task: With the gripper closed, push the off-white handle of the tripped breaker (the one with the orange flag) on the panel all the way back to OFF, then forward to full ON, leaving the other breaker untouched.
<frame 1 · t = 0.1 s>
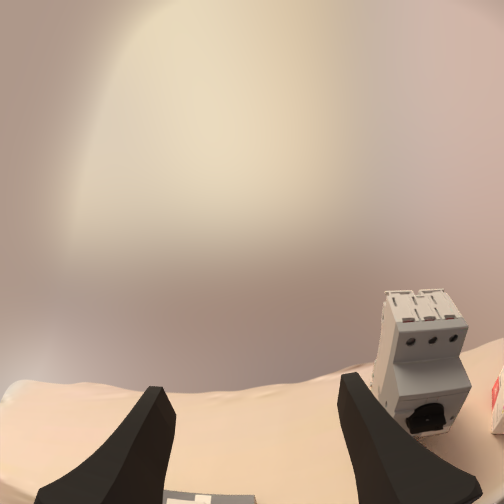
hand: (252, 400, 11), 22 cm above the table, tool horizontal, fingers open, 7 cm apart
circuit breaker: (401, 421, 29), on the table
ink cartridge box: (503, 412, 23), on the table
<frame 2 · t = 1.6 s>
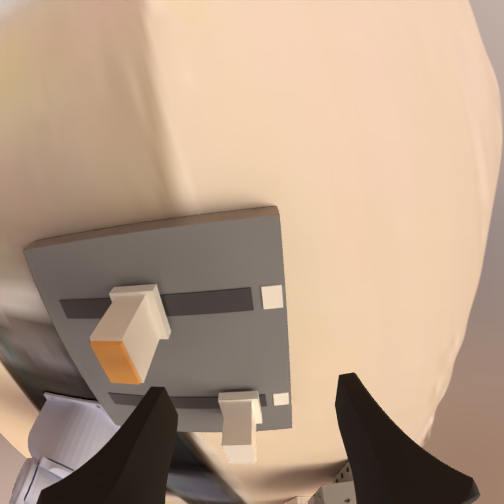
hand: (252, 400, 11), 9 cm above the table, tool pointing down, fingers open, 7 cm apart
tripped breaker: (129, 334, 15), point 5 cm above the table, slide at 0.0 cm
breaker panel: (169, 346, 22), on the table
circuit breaker: (347, 467, 33), on the table
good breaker: (240, 428, 19), point 5 cm above the table, slide at 5.0 cm
ink cartridge box: (308, 499, 39), on the table
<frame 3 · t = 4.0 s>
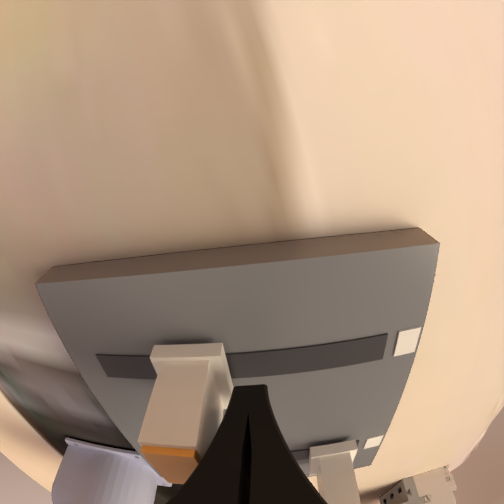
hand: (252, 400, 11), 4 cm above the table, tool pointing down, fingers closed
tripped breaker: (188, 417, 10), point 5 cm above the table, slide at -1.7 cm, touching gripper
breaker panel: (249, 399, 16), on the table
circuit breaker: (396, 486, 27), on the table
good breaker: (335, 483, 14), point 5 cm above the table, slide at 5.0 cm
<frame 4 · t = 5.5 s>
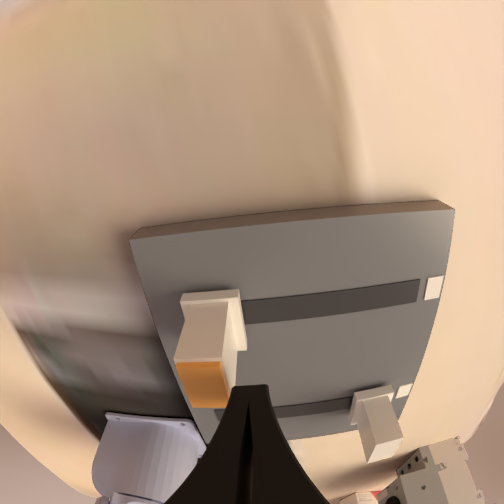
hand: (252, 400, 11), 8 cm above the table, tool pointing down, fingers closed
tripped breaker: (211, 349, 14), point 5 cm above the table, slide at -5.1 cm
breaker panel: (303, 349, 20), on the table
circuit breaker: (412, 457, 31), on the table
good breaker: (376, 425, 18), point 5 cm above the table, slide at 5.0 cm
ink cartridge box: (363, 494, 37), on the table
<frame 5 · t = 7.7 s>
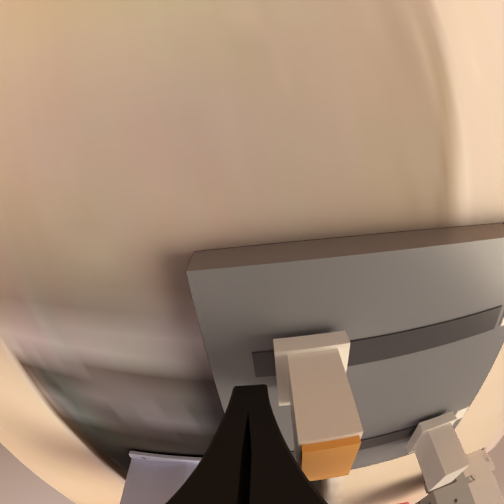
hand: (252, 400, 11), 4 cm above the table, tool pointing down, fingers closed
tripped breaker: (318, 410, 10), point 5 cm above the table, slide at -4.5 cm, touching gripper
breaker panel: (373, 383, 16), on the table
circuit breaker: (440, 470, 27), on the table
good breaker: (438, 453, 14), point 5 cm above the table, slide at 5.0 cm
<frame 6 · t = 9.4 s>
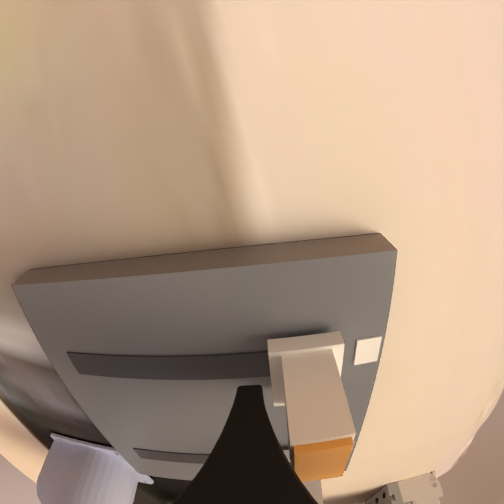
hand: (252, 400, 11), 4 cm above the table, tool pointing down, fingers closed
tripped breaker: (312, 410, 10), point 5 cm above the table, slide at 5.1 cm, touching gripper
breaker panel: (215, 401, 17), on the table
circuit breaker: (381, 491, 27), on the table
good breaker: (302, 488, 14), point 5 cm above the table, slide at 5.0 cm
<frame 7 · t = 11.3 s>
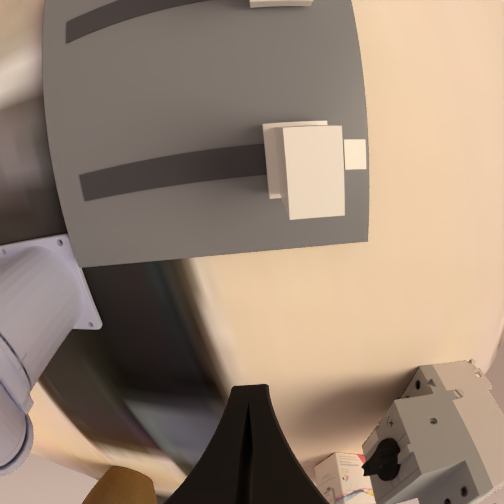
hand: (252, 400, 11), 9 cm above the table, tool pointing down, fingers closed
plant pot: (131, 474, 35), on the table
breaker panel: (192, 78, 14), on the table
circuit breaker: (410, 389, 25), on the table
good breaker: (304, 163, 12), point 5 cm above the table, slide at 5.0 cm
ink cartridge box: (347, 460, 31), on the table
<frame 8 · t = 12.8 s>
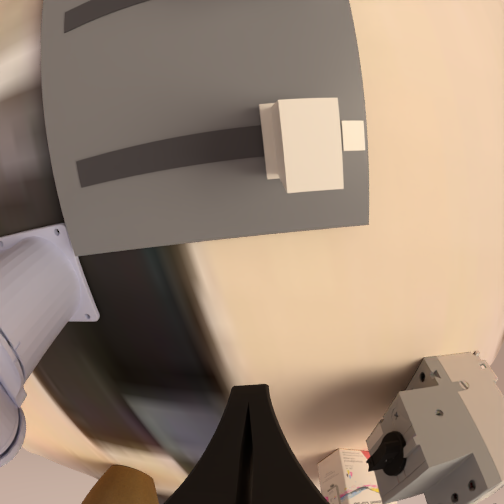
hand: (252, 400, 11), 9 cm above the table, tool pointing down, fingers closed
plant pot: (132, 473, 35), on the table
breaker panel: (189, 64, 14), on the table
circuit breaker: (415, 382, 25), on the table
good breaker: (301, 140, 11), point 5 cm above the table, slide at 5.0 cm
ink cartridge box: (351, 456, 31), on the table
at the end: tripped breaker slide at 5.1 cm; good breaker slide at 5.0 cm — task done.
